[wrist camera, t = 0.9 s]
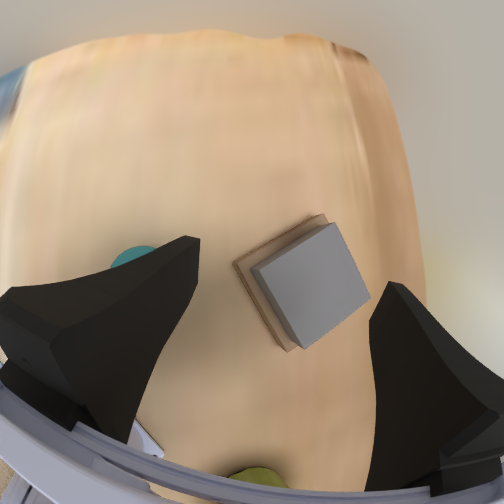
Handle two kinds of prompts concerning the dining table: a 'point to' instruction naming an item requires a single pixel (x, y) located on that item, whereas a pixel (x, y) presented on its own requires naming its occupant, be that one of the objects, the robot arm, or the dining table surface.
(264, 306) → the walnut slab
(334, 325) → the grey square block
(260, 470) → the plant pot
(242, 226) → the dining table surface
